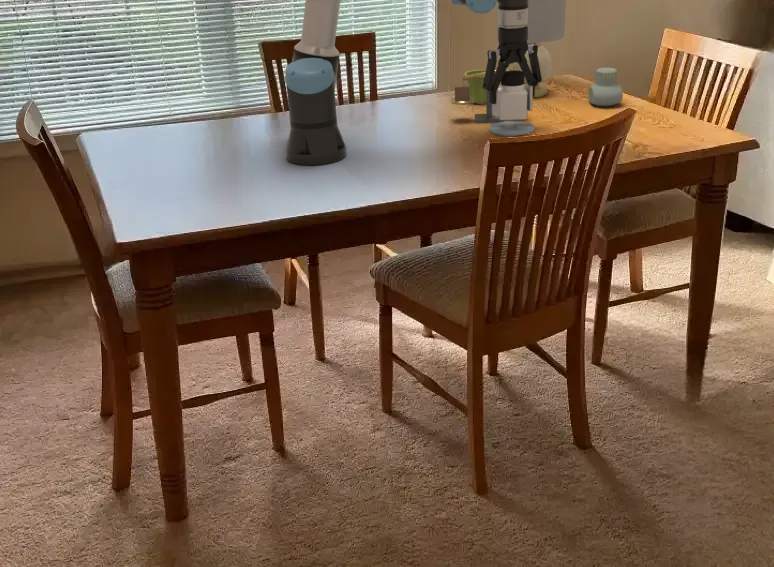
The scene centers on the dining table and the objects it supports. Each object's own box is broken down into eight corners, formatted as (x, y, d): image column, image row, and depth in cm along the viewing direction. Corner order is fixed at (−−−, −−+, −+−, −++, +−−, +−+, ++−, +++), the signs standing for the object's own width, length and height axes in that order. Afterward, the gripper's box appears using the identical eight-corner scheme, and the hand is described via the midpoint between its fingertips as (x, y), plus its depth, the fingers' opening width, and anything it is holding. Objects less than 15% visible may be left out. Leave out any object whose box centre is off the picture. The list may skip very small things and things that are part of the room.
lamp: (576, 95, 261) (581, -29, 245) (520, 105, 253) (523, -21, 237) (536, 83, 277) (539, -34, 261) (483, 92, 269) (483, -27, 254)
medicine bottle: (527, 119, 225) (528, 73, 220) (500, 120, 226) (500, 74, 220) (524, 112, 232) (524, 67, 227) (497, 113, 232) (497, 68, 227)
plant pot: (461, 99, 262) (461, 71, 259) (491, 96, 264) (491, 68, 260) (469, 107, 254) (469, 77, 250) (500, 104, 255) (500, 74, 252)
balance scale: (450, 123, 239) (449, 69, 232) (451, 117, 245) (450, 64, 238) (528, 122, 236) (529, 67, 230) (527, 116, 242) (528, 62, 235)
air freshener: (623, 108, 244) (626, 73, 240) (594, 109, 245) (596, 74, 240) (614, 99, 254) (616, 64, 250) (586, 100, 254) (588, 66, 250)
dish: (503, 139, 223) (503, 136, 223) (481, 128, 233) (481, 125, 233) (543, 131, 227) (543, 128, 227) (519, 121, 237) (519, 118, 237)
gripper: (482, 32, 212) (483, 122, 221) (557, 22, 219) (555, 109, 229) (468, 28, 218) (469, 115, 228) (541, 18, 225) (539, 103, 235)
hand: (512, 112), depth 228 cm, fingers closed on medicine bottle, 9 cm apart
